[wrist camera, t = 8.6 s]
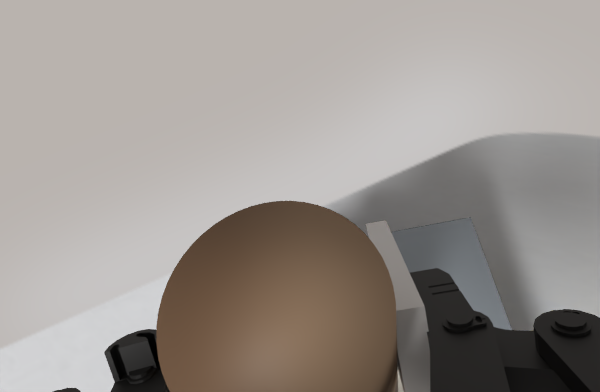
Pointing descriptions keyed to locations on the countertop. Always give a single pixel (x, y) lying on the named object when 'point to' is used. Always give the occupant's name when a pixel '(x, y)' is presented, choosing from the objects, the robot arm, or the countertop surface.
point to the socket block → (454, 264)
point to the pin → (279, 307)
